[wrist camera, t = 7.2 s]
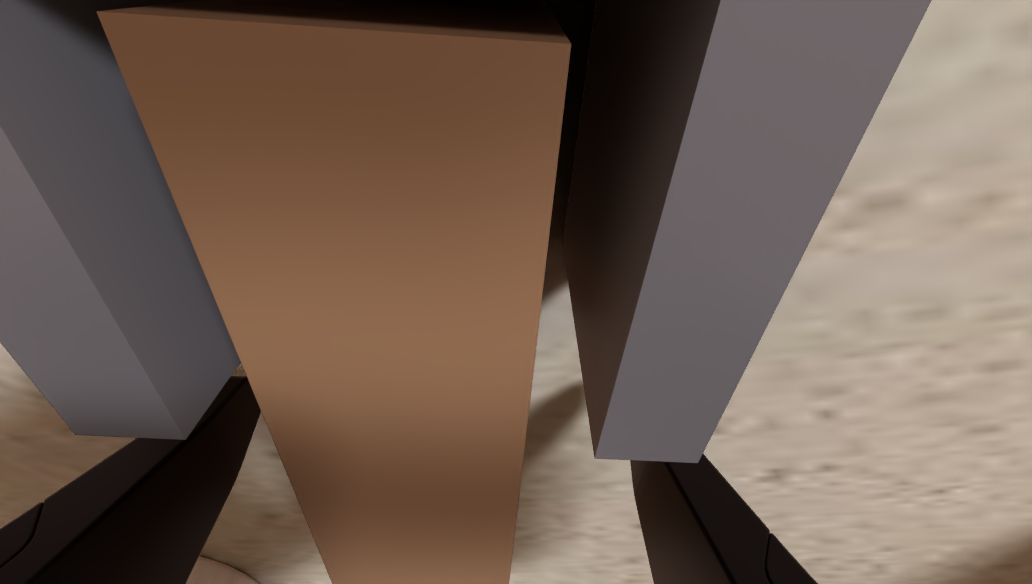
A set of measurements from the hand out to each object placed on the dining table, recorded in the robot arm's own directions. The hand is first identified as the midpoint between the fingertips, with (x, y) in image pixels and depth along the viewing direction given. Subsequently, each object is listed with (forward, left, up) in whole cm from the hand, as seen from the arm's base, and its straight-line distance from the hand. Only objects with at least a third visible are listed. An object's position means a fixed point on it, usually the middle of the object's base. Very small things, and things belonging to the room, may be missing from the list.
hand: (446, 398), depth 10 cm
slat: (+2, 0, -2) cm, 2 cm away
